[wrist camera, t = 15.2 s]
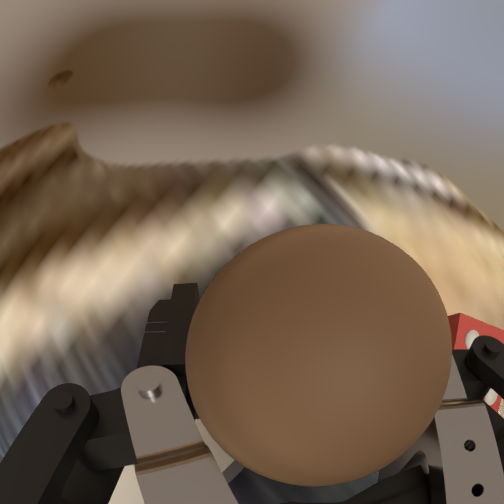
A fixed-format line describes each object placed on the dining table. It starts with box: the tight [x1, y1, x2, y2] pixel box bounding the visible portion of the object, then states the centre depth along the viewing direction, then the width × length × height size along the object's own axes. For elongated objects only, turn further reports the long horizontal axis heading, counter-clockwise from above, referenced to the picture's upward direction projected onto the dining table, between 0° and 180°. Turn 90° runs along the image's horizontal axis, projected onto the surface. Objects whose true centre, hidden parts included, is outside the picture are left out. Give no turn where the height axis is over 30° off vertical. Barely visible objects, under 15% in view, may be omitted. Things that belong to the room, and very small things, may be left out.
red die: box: [447, 313, 504, 413], centre depth 14 cm, size 5×5×5 cm
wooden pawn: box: [185, 224, 452, 487], centre depth 8 cm, size 6×6×12 cm
